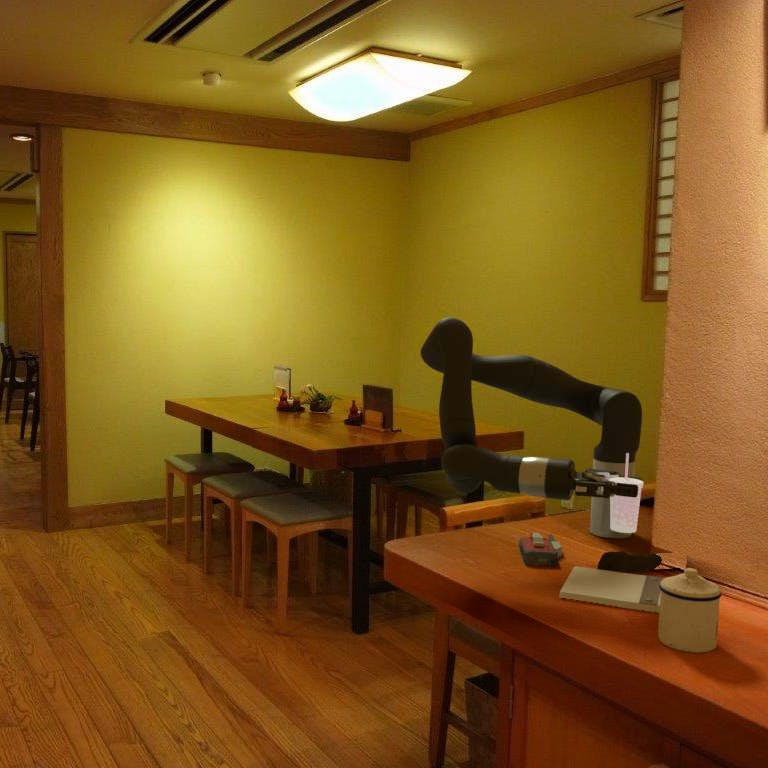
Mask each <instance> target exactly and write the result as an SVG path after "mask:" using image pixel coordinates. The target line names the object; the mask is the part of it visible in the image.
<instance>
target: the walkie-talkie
mask: <svg viewBox="0 0 768 768" xmlns="http://www.w3.org/2000/svg"><path fill="white" fill-rule="evenodd" d="M547 537H548V538H547ZM547 537H544V536H543V535H542V533H541V532H530V536H523V537H520V538H519V541H518V548H519V553H520V555H522V556H521V557H522V562H523V564H524V563H525V564H524V565H527V564H537V565H536V566H544V565H555V566H556V565H559V563H560V562H559V558H560V557H562V556H561V555H563V546H562V543H561V541H556V539H555V537H554V535H553V534H552V533H550V534H548V536H547ZM559 556H560V557H559Z"/></svg>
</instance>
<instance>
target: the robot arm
mask: <svg viewBox="0 0 768 768" xmlns="http://www.w3.org/2000/svg"><path fill="white" fill-rule="evenodd" d="M473 348H474V337H473V333H472V330H471V329H470V327H469V326H468V325H467V324H466V323H465V322H464V321H463V320H461V319H459V318H456V317H451V316H450V317H444V318H442V319H441V320H439V321H438V322H437V323H436V324H435V326H433V328H432V330H431V332H430V333H429V334H428V336H427V338H426V340H424V343H422V346H421V348H420V356H421V359H422V361H423V362H424V363H425V364H426V365H427V366H428V367H429V368H431V369H432V370H435V371H436V372H438V373H441V374H443V375H442V383H441V388H440V389H441V391H440V396H439V405H438V419H439V427H440V435H441V440H442V442H443V445H444V448H445V449H444V450H445V451H443V453H442V456H441V460H440V462H441V469H442V470H443V473H444V474H445V477H446V479H447V481H448V484H449V485H450V486H451V487H452V488H453V490H455V491H457V492H458V493H460V494H461V493H462V494H470V493H472V492H475V491H476V490H477V489H478V488H479V487H480V486H481V484H482V482H485V483H487V484H488V485H490V486H491V487H492V488H493V489H494V490H496V491H499V492H503V493H504V492H505V493H512V494H522V495H526V496H530V497H536V498H542V499H543V498H544V499H553V500H561V501H570V500H571V499H572V498H573V495H574V494H575V496H577V497H580V496H581V497H588V498H589V497H591V501H590V503H591V504H590V521H589V522H590V523H589V532H590V533H591V534H592V535H593V536H594V535H595V536H597V537H600V538H601V537H602V538H607V539H626V538H630V537H631V536H632V533H621V532H616V531H613V530H611V529H610V497H613V496H615V494H616V496H625V497H634V498H635V497H637V496H638V485H636V484H626V483H616V482H614V481H609V479H610V478H614V477H625V467H626V453H629V462H628V478H633V479H638V480H641V481H643V478H642V477H641V476H640V477H639V476H638V477H636V476H635V473H636V472H635V469H636V455H637V452H638V450H639V448H640V444H641V433H642V423H643V407H642V403H641V402H640V399H639V398H638V397H637V396H636V394H634V393H632V392H630V391H627V390H624V389H623V390H622V389H619V388H613V387H607V386H603V385H598V384H594V383H590V382H587V381H584V380H580V379H578V378H576V377H574V376H573V375H571V374H570V373H567V372H566V371H565V370H563V369H561V368H559V367H557V366H556V365H553V364H551V363H549V362H547V361H543V360H541V359H539V358H535V357H533V356H530V355H525V354H504V355H492V356H491V355H490V356H489V355H481V354H477V353H474V352H473V351H474V350H473ZM472 382H475V383H480V384H483V385H486V386H489V387H492V388H495V389H497V390H498V389H499V390H502V391H504V392H507V393H509V394H512V395H515V396H517V397H520V398H521V399H522V398H523V399H525V400H528V401H531V402H534V403H537V404H539V405H545V406H549V407H555V408H561V409H565V410H568V411H571V412H574V413H576V414H578V415H580V416H582V417H584V418H586V419H587V420H588V419H589V420H590V421H592V422H594V423H596V424H598V425H599V426H600V427H601V437H600V441H599V443H597V444H596V445H595V446H594V448H593V459H592V460H593V461H592V468H591V467H590V468H587V469H584V471H576V464H575V461H574V460H572V459H566V458H558V457H557V458H556V457H545V456H522V455H521V456H520V455H512V454H501V453H498V452H496V451H493V450H491V449H490V450H489V449H487V448H483V447H480V446H478V441H477V434H476V433H477V432H476V431H477V430H476V423H475V422H476V421H475V415H474V407H473V395H472V394H473V391H472ZM574 492H575V493H574Z"/></svg>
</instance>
